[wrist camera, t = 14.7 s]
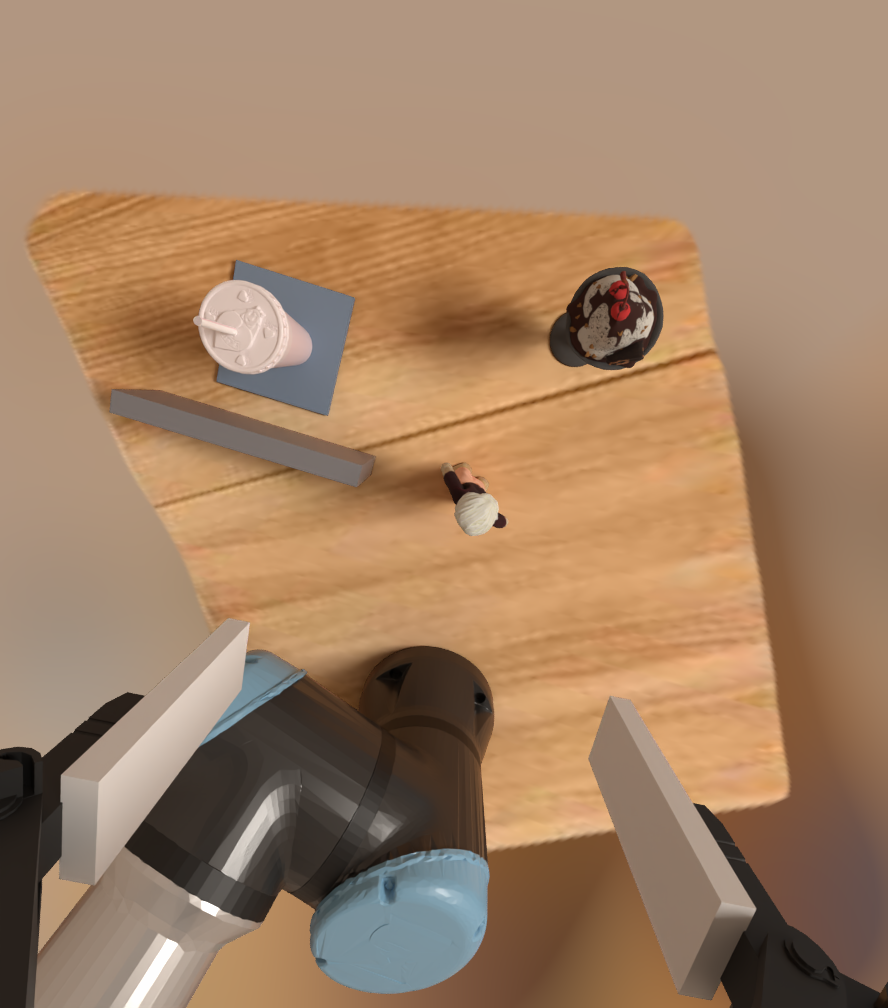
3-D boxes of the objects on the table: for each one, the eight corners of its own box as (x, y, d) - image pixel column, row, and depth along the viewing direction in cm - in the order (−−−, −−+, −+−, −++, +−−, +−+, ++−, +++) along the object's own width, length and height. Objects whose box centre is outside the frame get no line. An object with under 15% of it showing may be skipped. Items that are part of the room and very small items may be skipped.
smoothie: (245, 335, 40) (132, 300, 27) (298, 293, 39) (209, 234, 26) (287, 393, 41) (199, 389, 28) (340, 354, 40) (275, 330, 27)
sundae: (556, 288, 39) (613, 223, 24) (625, 314, 39) (723, 266, 24) (528, 361, 40) (566, 341, 26) (595, 386, 41) (669, 380, 26)
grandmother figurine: (428, 481, 43) (415, 515, 31) (448, 449, 43) (443, 470, 30) (492, 520, 44) (505, 568, 32) (514, 489, 43) (534, 526, 31)
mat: (328, 415, 42) (326, 415, 42) (218, 381, 42) (216, 381, 41) (355, 298, 40) (354, 297, 39) (238, 261, 39) (236, 259, 39)
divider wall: (370, 475, 44) (356, 487, 38) (157, 410, 43) (109, 412, 37) (375, 456, 43) (362, 465, 37) (160, 390, 42) (111, 389, 36)
